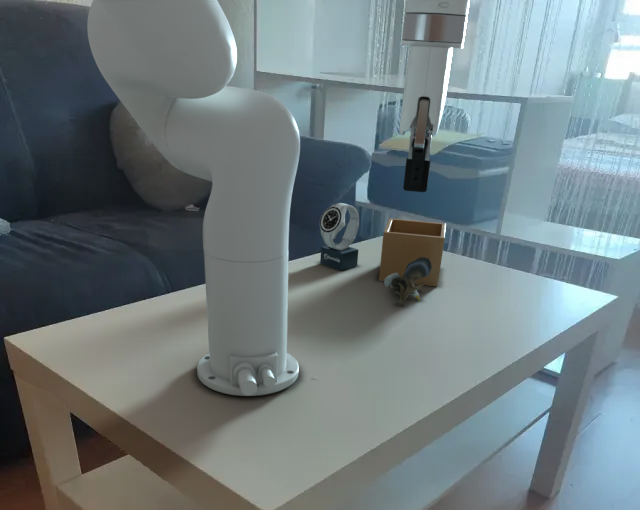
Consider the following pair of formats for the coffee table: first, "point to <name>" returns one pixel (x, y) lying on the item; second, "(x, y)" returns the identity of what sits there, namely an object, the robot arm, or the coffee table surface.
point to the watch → (340, 252)
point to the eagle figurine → (409, 278)
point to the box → (412, 247)
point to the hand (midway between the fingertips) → (415, 190)
